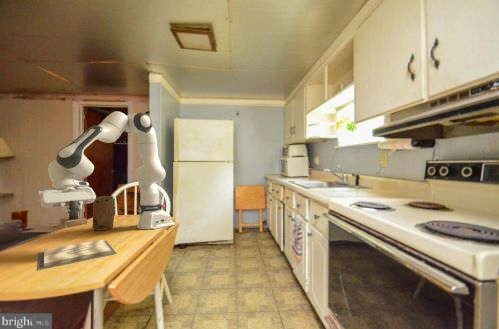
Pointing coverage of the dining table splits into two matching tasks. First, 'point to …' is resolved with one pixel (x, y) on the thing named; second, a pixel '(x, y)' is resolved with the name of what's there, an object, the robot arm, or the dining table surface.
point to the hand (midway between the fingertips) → (74, 211)
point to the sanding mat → (41, 262)
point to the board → (75, 252)
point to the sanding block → (73, 217)
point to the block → (103, 213)
